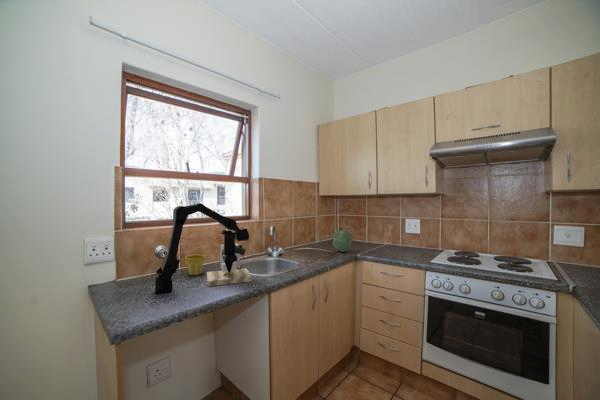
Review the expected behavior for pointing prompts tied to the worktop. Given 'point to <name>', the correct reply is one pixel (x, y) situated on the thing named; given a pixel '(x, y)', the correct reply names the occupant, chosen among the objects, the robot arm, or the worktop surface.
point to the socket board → (228, 277)
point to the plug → (224, 269)
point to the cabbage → (342, 240)
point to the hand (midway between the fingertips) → (228, 270)
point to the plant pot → (195, 264)
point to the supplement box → (223, 259)
